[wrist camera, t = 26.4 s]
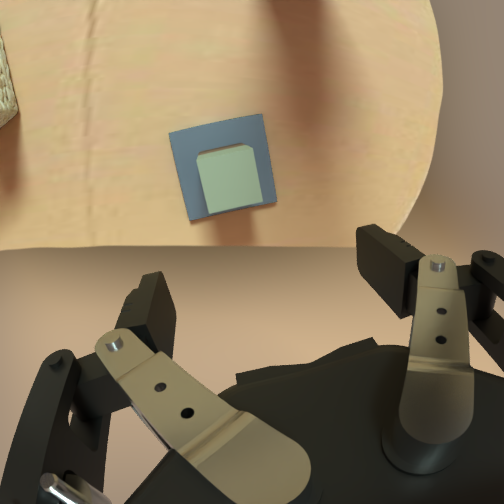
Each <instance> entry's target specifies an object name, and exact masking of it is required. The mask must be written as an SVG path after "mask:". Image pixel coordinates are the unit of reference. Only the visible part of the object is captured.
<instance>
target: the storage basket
mask: <svg viewBox="0 0 504 504" xmlns="http://www.w3.org/2000/svg"><path fill="white" fill-rule="evenodd" d="M9 76H10V75H9V67H8V65H7V62H6V55H5V51H4V49H3V41H2V39H1V34H0V128H1V127H2V126H4V125H5V124H6V123H7V122H8V121H9V120H10V119H11V118H13V117H14V116H15V115H16V114H17V112H18V106H17V103H16V98H15V94H14V92H13V87H12V83H11V79H10V77H9Z"/></svg>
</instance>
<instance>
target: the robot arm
mask: <svg viewBox="0 0 504 504" xmlns="http://www.w3.org/2000/svg"><path fill="white" fill-rule="evenodd" d="M356 247H357V265H358V270H359V272H360V274H361V276H362V277H363V278H364V279H365V280H366V281H367V282H368V283H369V284H370V286H371V287H372V288H373V289H374V290H375V291H376V292H377V293H378V295H379V296H380V297H381V298H382V299H383V300H384V301H385V302H386V304H387V305H388V306H389V307H390V308H391V309H392V310H393V311H394V313H396V315H397V316H398V317H399V318H400V319H402V318H405V317H408V316H410V315H412V316H413V320H412V327H411V334H410V340H409V346H408V347H405V346H399V345H379V346H378V345H377V343H376V342H375V340H374V339H373V337H371V338H368V339H365V340H362V341H359V342H355V343H352V344H349V345H346V346H343V347H340V348H338V349H336V350H335V351H333V352H331V353H329V354H327V355H325V356H323V357H321V358H319V359H318V360H315V361H314V362H311V363H307V364H297V365H280V366H269V367H265V368H260V369H256V370H251V371H247V372H242V373H237V374H236V380H237V384H236V385H234V386H231V387H230V388H228V389H226V390H224V391H223V392H221V393H220V394H218V395H216V394H214V393H213V392H212V391H210V390H209V389H208V388H206V387H205V386H204V385H203V384H201V383H200V382H199V381H197V380H196V379H195V378H194V377H192V376H191V375H190V374H188V373H187V372H186V371H185V370H184V369H183V368H181V367H180V366H179V365H178V364H177V363H175V362H174V361H173V360H172V357H173V356H172V355H173V346H174V336H175V327H176V310H175V307H174V303H173V301H172V298H171V295H170V292H169V289H168V286H167V283H166V281H165V278H164V275H163V273H162V272H161V271H159V272H154V273H150V274H146V275H143V276H142V279H141V282H140V284H139V287H138V288H137V289H133V290H132V291H131V293H130V294H129V295H128V296H127V297H126V299H125V302H124V304H123V307H122V309H121V313H120V315H119V317H118V320H117V323H116V326H115V328H114V330H112V331H109V332H107V333H106V334H104V335H103V336H102V337H101V338H100V339H99V340H98V341H97V343H96V345H95V352H94V353H92V354H89V355H87V356H84V357H82V358H79V359H76V357H75V356H74V354H73V353H72V351H70V350H67V349H62V350H58V351H56V352H54V353H52V354H50V355H49V356H48V357H47V358H46V359H45V360H44V361H43V363H42V365H41V367H40V369H39V372H38V374H37V376H36V378H35V381H34V383H33V386H32V388H31V391H30V394H29V396H28V398H27V401H26V404H25V406H24V409H23V412H22V414H21V417H20V420H19V423H18V426H17V429H16V432H15V435H14V438H13V441H12V444H11V448H10V451H9V454H8V458H7V462H6V465H5V469H4V473H3V477H2V481H1V485H0V504H112V503H111V501H110V500H109V498H108V497H107V496H105V495H104V494H103V487H104V473H105V461H106V452H107V443H108V442H107V441H108V435H109V427H110V419H111V413H112V412H115V411H118V410H120V409H123V408H126V407H129V406H131V408H132V409H133V410H134V411H135V413H136V414H137V415H138V416H139V418H140V419H141V420H142V421H143V423H144V424H145V425H146V426H147V427H148V429H149V430H150V431H151V432H152V433H153V434H154V436H156V438H157V439H158V440H159V441H160V442H161V444H162V445H163V446H164V447H165V448H166V450H168V453H167V454H166V455H165V456H164V457H163V459H162V460H161V461H160V462H159V463H158V465H157V466H156V467H155V468H154V469H153V471H152V472H151V473H150V474H149V475H148V476H147V478H146V479H145V480H144V481H143V482H142V483H141V485H140V486H139V487H138V488H137V489H136V490H135V491H134V493H133V494H132V495H131V496H130V498H128V500H127V501H126V502H125V503H124V504H504V378H503V377H500V376H496V375H493V374H490V373H487V372H483V371H480V370H477V369H474V368H473V367H471V366H470V356H469V333H468V331H469V332H470V333H471V334H472V335H473V337H475V339H476V340H477V341H478V342H479V343H480V344H481V346H482V347H483V348H484V349H485V350H486V351H487V352H488V354H489V355H490V356H491V357H492V358H493V360H494V361H495V362H496V363H497V364H498V366H499V367H500V368H501V369H502V371H503V372H504V319H503V318H502V317H501V316H500V315H499V314H498V313H497V312H496V311H495V310H494V309H493V308H494V304H495V300H496V296H498V297H499V298H501V299H502V300H503V301H504V258H503V257H501V256H500V255H498V254H497V253H494V252H491V251H486V250H480V251H476V252H474V253H473V254H472V258H471V264H470V265H462V266H456V264H455V262H454V261H453V260H452V259H450V258H449V257H446V256H443V255H436V254H433V255H427V256H426V255H425V254H423V253H421V252H420V251H419V250H418V249H416V248H415V247H413V246H411V244H409V243H407V242H405V240H403V239H402V238H401V237H399V236H397V235H395V234H391V233H388V232H386V231H384V230H383V229H382V228H380V227H379V226H377V225H376V224H371V225H366V226H362V227H358V228H357V230H356ZM70 410H71V412H72V413H73V414H72V419H71V423H70V426H69V422H68V415H69V411H70Z"/></svg>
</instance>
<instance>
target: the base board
mask: <svg viewBox="0 0 504 504" xmlns="http://www.w3.org/2000/svg"><path fill="white" fill-rule="evenodd" d="M169 137H170V142H171V146H172V150H173V155H174V159H175V163H176V168H177V172H178V176H179V180H180V184H181V188H182V193H183V197H184V201H185V205H186V208H187V212H188V216H189V220H190V221H191V220H195V219H199V218H204V217H208V216H213V215H217V214H221V213H226V212H230V211H235V210H240V209H244V208H249V207H254V206H258V205H263V204H268V203H273V202H277V197H276V191H275V185H274V179H273V173H272V167H271V161H270V156H269V150H268V144H267V139H266V133H265V127H264V122H263V116H262V114H257V115H251V116H245V117H240V118H234V119H229V120H224V121H219V122H214V123H210V124H205V125H201V126H196V127H192V128H188V129H184V130H179V131H175V132H172V133H169ZM237 143H243V144H245V145H248V146H250V147H251V148H253V152H254V157H255V162H256V168H257V173H258V178H259V183H260V188H261V194H262V199H263V202H259V203H255V204H250V205H246V206H241V207H237V208H233V209H228V210H224V211H220V212H216V213H211V214H209V211H208V207H207V203H206V199H205V195H204V191H203V187H202V182H201V178H200V174H199V170H198V166H197V161H196V160H197V157H198V153H199V152H201V151H205V150H209V149H214V148H218V147H223V146H228V145H232V144H237Z"/></svg>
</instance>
